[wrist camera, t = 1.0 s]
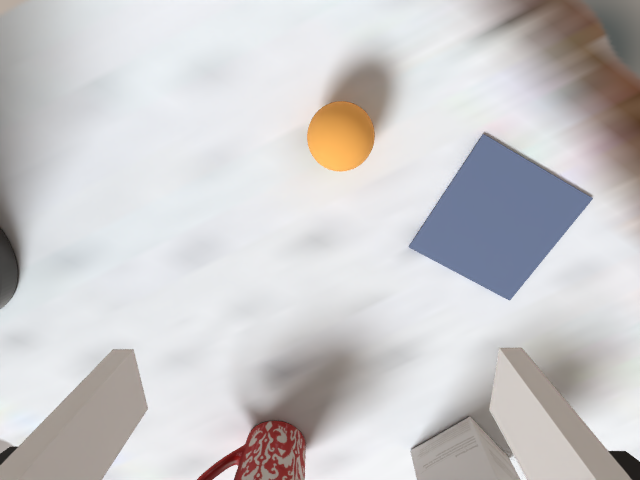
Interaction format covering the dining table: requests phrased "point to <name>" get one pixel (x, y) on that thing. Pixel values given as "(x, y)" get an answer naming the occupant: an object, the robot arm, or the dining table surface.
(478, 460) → the supplement box
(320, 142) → the ball
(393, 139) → the dining table surface
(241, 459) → the mug
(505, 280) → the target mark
